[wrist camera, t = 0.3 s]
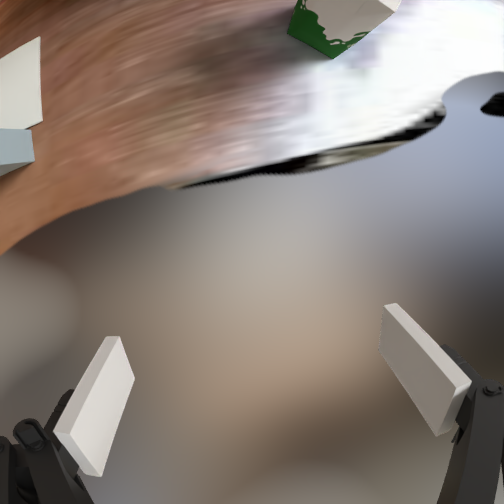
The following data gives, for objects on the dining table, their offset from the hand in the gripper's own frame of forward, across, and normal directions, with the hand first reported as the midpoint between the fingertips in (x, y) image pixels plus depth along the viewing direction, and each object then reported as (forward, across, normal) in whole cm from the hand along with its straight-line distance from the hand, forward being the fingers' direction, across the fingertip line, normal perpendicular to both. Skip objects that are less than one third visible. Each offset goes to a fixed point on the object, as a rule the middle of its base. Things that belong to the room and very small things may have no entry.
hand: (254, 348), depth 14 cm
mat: (+28, -34, +26) cm, 51 cm away
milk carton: (+28, +14, +26) cm, 41 cm away
